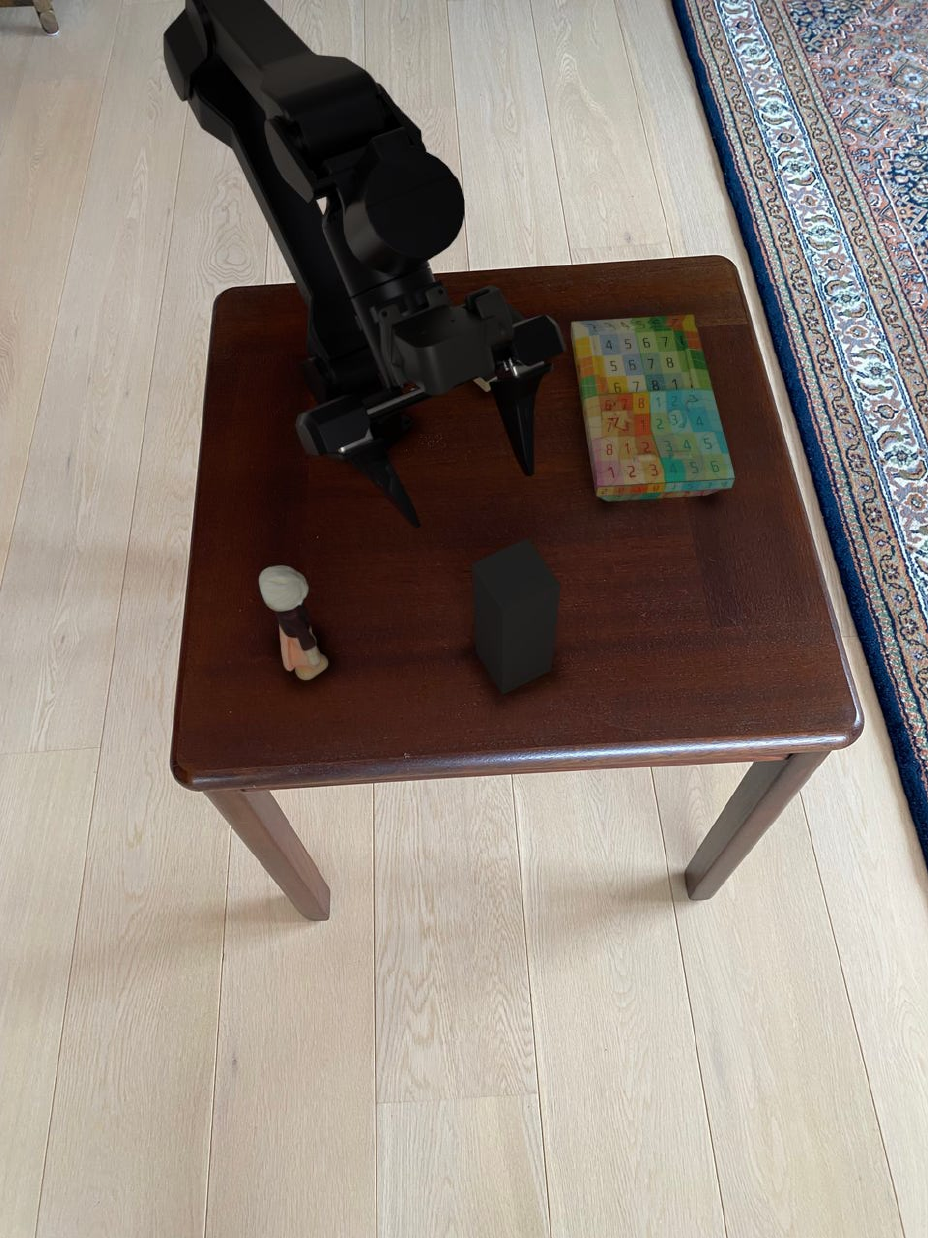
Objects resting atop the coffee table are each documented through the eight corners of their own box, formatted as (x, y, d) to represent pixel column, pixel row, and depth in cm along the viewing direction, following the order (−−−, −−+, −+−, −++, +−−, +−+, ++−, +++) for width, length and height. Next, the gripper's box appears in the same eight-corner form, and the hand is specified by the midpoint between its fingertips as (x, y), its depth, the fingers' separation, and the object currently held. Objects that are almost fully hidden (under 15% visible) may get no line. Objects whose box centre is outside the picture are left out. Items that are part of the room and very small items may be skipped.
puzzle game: (598, 480, 77) (572, 314, 87) (593, 513, 82) (568, 351, 92) (737, 471, 77) (695, 306, 87) (725, 505, 81) (686, 344, 92)
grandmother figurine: (263, 640, 76) (223, 555, 65) (302, 615, 77) (270, 527, 66) (313, 707, 73) (280, 629, 62) (353, 680, 74) (328, 599, 63)
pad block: (475, 651, 75) (471, 563, 64) (523, 628, 76) (528, 537, 65) (502, 695, 73) (503, 612, 62) (551, 670, 74) (561, 584, 63)
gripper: (277, 320, 52) (384, 571, 56) (561, 208, 56) (639, 451, 60) (255, 339, 62) (347, 549, 67) (496, 244, 66) (567, 449, 71)
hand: (474, 500), depth 66 cm, fingers open, 9 cm apart
